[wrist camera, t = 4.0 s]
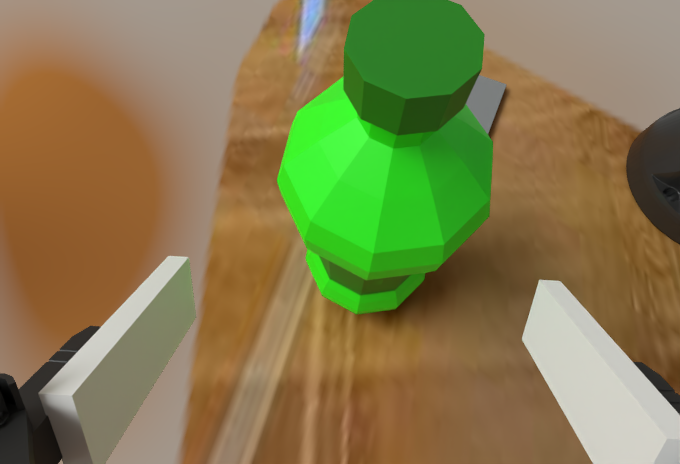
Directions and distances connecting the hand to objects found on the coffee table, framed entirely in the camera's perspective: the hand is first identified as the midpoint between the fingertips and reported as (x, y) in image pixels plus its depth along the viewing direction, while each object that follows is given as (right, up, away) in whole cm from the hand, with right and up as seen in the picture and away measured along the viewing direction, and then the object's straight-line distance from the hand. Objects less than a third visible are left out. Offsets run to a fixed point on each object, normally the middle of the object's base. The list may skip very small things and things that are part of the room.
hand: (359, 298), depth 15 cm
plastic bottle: (+1, -1, +20) cm, 21 cm away
